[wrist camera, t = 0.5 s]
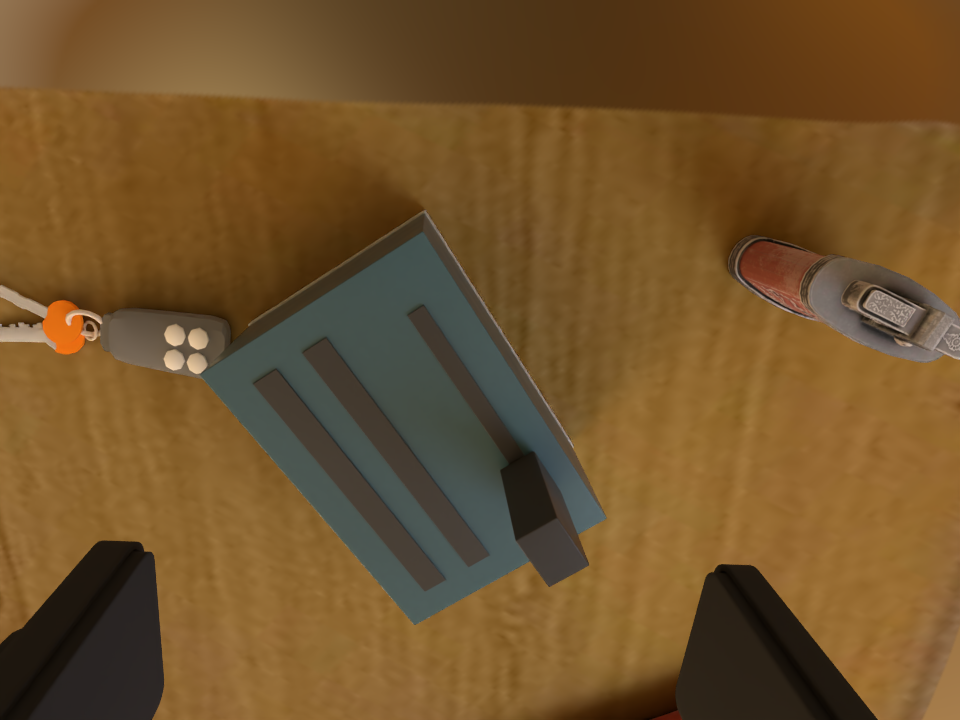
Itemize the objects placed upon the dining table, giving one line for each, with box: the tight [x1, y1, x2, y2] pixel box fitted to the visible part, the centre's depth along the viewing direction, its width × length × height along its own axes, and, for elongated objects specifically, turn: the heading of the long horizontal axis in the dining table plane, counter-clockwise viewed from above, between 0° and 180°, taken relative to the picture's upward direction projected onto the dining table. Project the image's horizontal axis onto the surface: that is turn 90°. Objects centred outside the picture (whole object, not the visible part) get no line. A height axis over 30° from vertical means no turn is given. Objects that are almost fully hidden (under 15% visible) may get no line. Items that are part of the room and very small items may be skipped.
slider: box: [500, 451, 589, 587], centre depth 25 cm, size 2×3×5 cm
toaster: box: [200, 210, 606, 625], centre depth 30 cm, size 11×16×8 cm
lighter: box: [728, 235, 960, 362], centre depth 29 cm, size 8×3×10 cm, turn 65°
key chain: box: [0, 285, 231, 379], centre depth 31 cm, size 13×4×2 cm, turn 79°
